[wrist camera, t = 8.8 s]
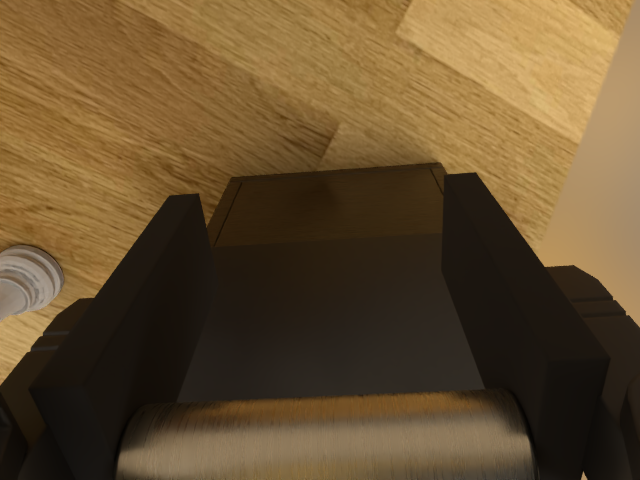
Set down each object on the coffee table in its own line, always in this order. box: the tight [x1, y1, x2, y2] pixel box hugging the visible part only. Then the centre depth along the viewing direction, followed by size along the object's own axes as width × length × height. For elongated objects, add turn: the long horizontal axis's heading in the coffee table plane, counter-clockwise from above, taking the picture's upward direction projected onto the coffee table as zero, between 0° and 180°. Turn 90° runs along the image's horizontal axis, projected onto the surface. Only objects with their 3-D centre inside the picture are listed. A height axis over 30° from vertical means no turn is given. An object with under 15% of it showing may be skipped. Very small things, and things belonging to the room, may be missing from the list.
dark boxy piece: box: [207, 163, 448, 247], centre depth 29 cm, size 14×13×9 cm
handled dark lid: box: [113, 232, 540, 480], centre depth 14 cm, size 14×13×9 cm
